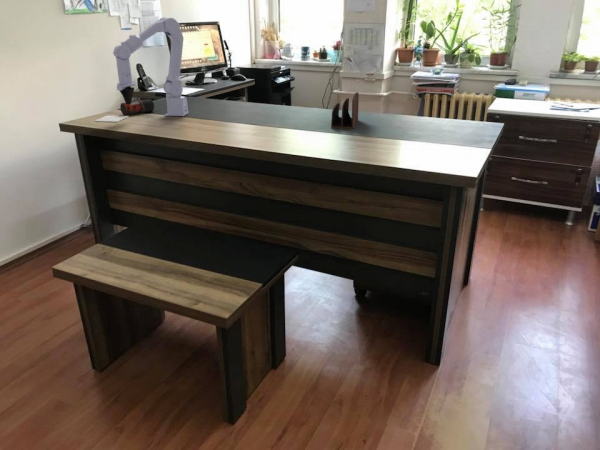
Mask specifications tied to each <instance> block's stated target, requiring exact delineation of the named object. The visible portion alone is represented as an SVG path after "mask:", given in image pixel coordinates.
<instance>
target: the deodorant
mask: <svg viewBox="0 0 600 450" xmlns="http://www.w3.org/2000/svg"><path fill="white" fill-rule="evenodd" d="M154 110H155V104H154V101H153V99H142V100H135V101H132V103H131V104H126V103H125V102H122V103H120V112H121V114H122V116H129V115H130V116H131V115H135V114H142V113H150V112H153V111H154Z"/></svg>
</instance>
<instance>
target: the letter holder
mask: <svg viewBox="0 0 600 450" xmlns="http://www.w3.org/2000/svg"><path fill="white" fill-rule="evenodd" d="M359 97H360V96H359V92H358V91H357V92H355V93H354V94H353V97H352V101H351V103H352V104H351V116H350V113H349V110H350V109H349V108H350V106H349V105H350V99H349V98H346V99H345V100H344V101H343V103H342V106H341V116H340V103H339V102H337V103H336V104H335V105H334V106H333V109H332V111H331V123H330V129H332V128H342V129H341V130H349V129H353V130H354V129H355V126H356V124H357V123H358V120H359V101H360V100H359V99H360V98H359Z"/></svg>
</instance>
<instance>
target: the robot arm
mask: <svg viewBox="0 0 600 450" xmlns="http://www.w3.org/2000/svg"><path fill="white" fill-rule="evenodd" d="M157 33H164V34H165V35H167V37H168V38H169V39H170V41H171V44H170V53H169V65H168V75H167V76H166V77H165V81H164V83H163V91H164V92H165V93H166V94H165V99H166V109H167V113H165V114H164V116H167V117H168V116H169V117H171V116H173V117H174V116H175V117H185V116H186V115H188V114H189V113H190V112H189V107H188V99H187V96H184V95H183V96H182V93H183V91H184V89H183V85H182V83H183V82H182V79H181V77H180V76H181V68H182V67H181V66H182V57H183V56H182V55H183V47H184V46H183V45H184V35H183V33H182V30H181V25H180V23H179V22H178V21H177V20H176V19H175V18H173V17H164V16H163V17H160V18H159V19H157V20H156V21H153V23H152V24H151V25H149V26H148V27H147V28H145V29H144V30H142V32H141V33H139V34H138V35H137V34H131V35H129V36H128V37H129V38H127V39H126V40H125V41H121V42H120V44H118V45H116V46H115V47H114V49H113V52H112V53H113V56H114V57H115V60H116V68H117V77H118V83H117V84H116V90H117V91H119V92H120V94H121V95H122V97H123V100H124V103H126V104H131V103H132V102H133V95H134V91H135V86H136V81H134V80H133V76H132V68H131V63H130V58H131V55H133V53H135V52H136V51H138V50H139V49H140V48H142V47H143V46H144V42H145V41H147V40H148V39H150V38H151V37H153V36H154V35H155V34H157Z"/></svg>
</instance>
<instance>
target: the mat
mask: <svg viewBox="0 0 600 450" xmlns="http://www.w3.org/2000/svg"><path fill="white" fill-rule="evenodd" d="M129 117H130V116H129V115H105V116H102V117H100V118H97V119H95V120H94V122H96V123H97V122H98V123H99V122H101V123H119V122H121V121H123V120H125V119H128V118H129Z"/></svg>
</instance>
